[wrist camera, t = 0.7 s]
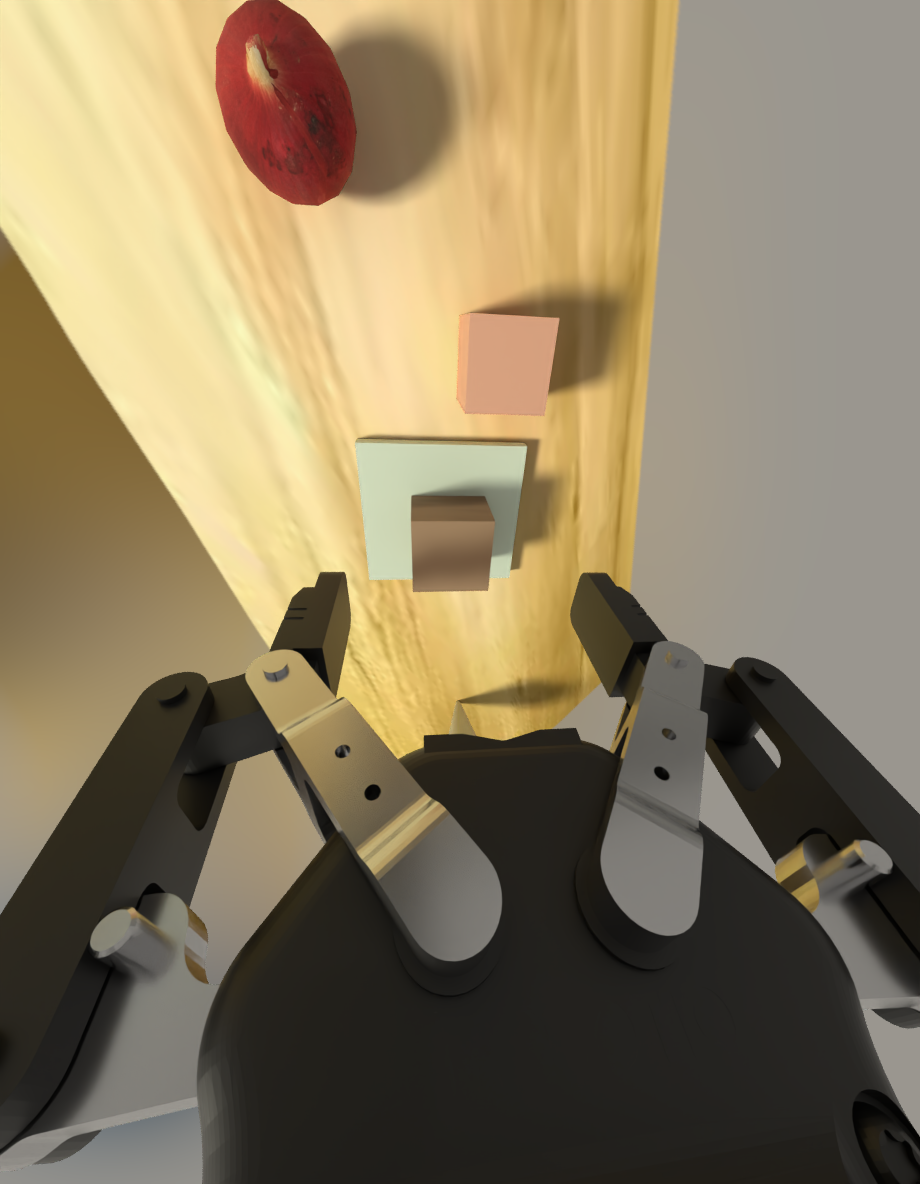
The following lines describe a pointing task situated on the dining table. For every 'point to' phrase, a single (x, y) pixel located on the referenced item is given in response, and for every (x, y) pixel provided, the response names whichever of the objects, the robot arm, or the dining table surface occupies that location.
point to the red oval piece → (285, 102)
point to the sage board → (434, 494)
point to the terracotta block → (505, 363)
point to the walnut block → (451, 543)
